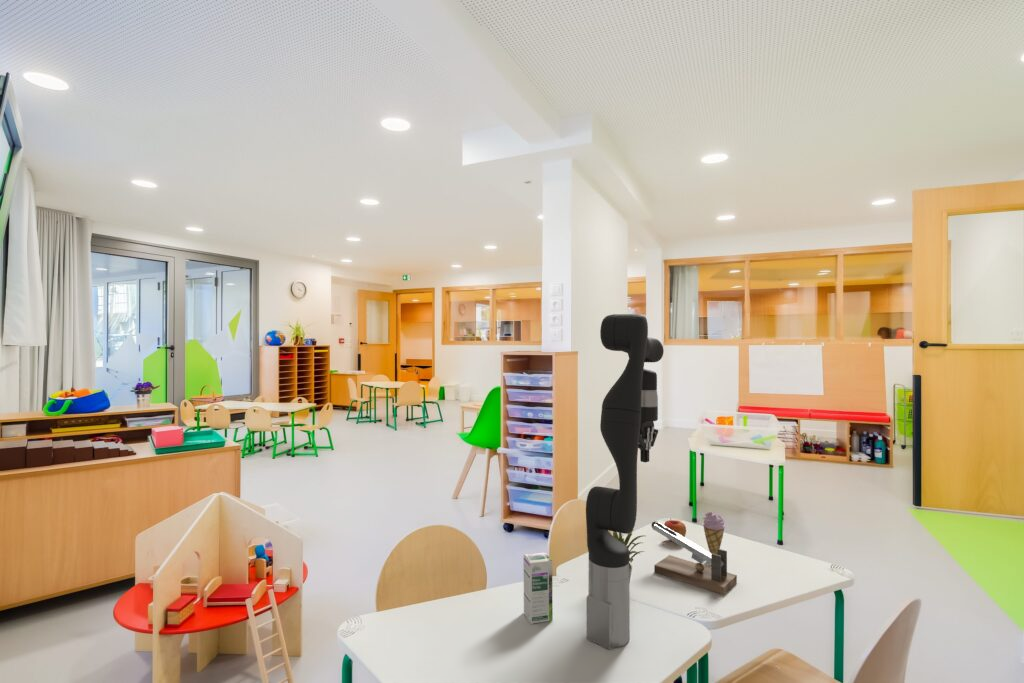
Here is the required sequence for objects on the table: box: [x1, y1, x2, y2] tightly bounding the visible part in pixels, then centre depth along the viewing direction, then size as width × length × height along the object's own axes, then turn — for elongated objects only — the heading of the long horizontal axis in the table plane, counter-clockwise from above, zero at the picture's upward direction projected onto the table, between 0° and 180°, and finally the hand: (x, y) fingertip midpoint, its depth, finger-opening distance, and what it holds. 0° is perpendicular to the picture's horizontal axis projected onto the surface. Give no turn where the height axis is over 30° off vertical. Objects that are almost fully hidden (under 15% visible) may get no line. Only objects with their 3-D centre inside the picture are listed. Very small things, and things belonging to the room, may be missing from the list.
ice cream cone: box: [702, 510, 726, 555], centre depth 153 cm, size 7×6×15 cm
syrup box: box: [523, 551, 554, 625], centre depth 118 cm, size 6×6×14 cm
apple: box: [663, 518, 687, 543], centre depth 167 cm, size 7×7×8 cm
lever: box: [651, 520, 725, 567], centre depth 142 cm, size 3×22×3 cm, turn 47°
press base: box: [653, 548, 738, 596], centre depth 140 cm, size 10×20×9 cm, turn 47°
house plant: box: [612, 528, 646, 585], centre depth 132 cm, size 14×14×16 cm
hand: (644, 461), depth 147 cm, fingers closed
